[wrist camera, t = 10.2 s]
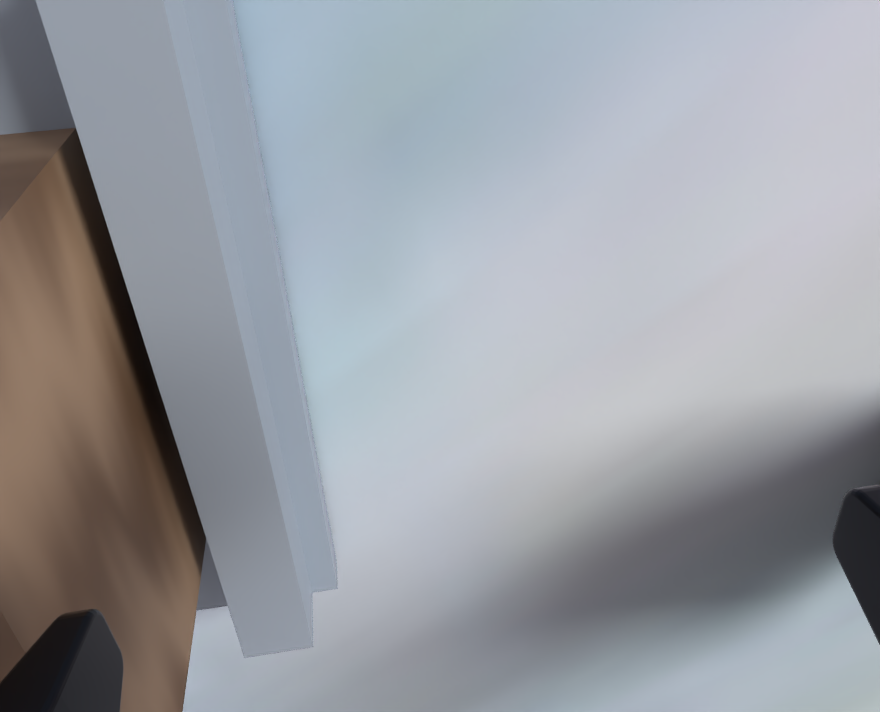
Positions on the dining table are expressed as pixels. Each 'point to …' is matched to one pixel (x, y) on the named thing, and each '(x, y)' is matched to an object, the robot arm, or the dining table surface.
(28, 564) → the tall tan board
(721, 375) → the dining table surface
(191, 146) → the display stand
